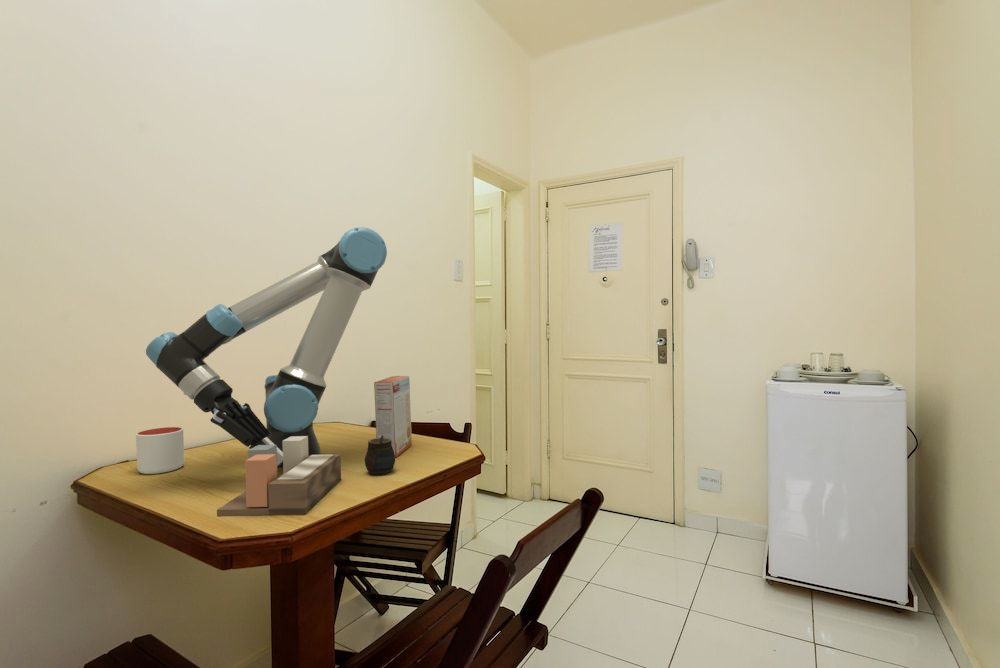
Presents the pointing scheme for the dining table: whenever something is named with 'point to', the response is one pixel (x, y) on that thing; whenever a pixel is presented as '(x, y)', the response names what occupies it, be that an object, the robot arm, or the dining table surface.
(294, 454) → the ivory key
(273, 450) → the slate key
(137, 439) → the cup
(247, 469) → the pink tall block
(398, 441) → the cracker box
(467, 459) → the dining table surface
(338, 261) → the robot arm
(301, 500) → the key console
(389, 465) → the mate gourd
